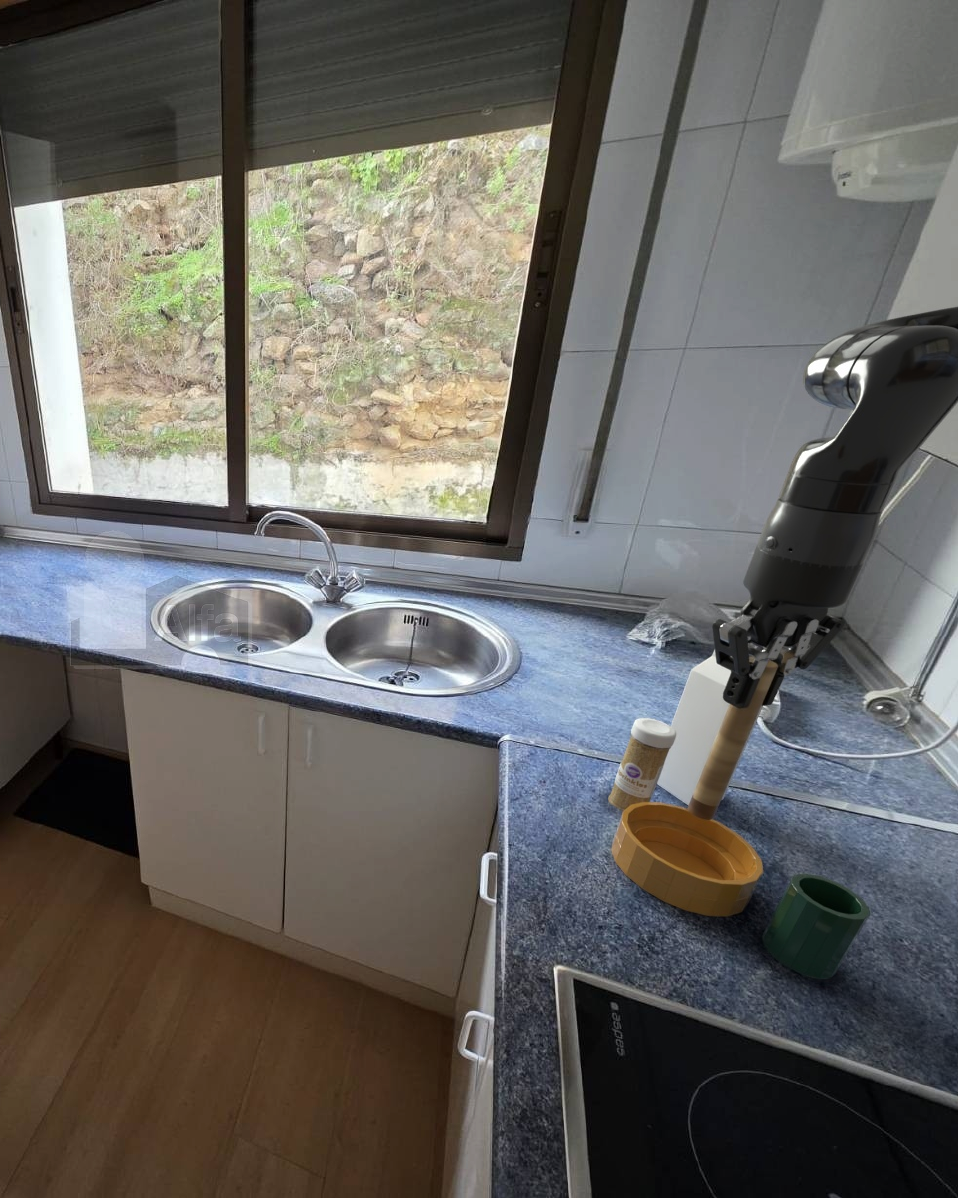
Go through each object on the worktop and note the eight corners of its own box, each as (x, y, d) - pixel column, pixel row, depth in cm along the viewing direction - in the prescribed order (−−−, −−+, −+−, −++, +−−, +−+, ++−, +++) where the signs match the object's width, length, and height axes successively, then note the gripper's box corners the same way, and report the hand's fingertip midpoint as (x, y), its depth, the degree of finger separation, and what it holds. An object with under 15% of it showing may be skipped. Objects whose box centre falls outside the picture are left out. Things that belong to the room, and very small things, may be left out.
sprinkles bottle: (603, 806, 88) (630, 725, 83) (612, 791, 91) (639, 712, 86) (642, 823, 85) (673, 740, 80) (650, 807, 88) (680, 726, 83)
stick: (708, 808, 74) (771, 658, 66) (717, 822, 72) (783, 669, 64) (684, 803, 75) (743, 655, 67) (691, 817, 73) (753, 665, 65)
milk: (682, 774, 94) (733, 643, 86) (724, 801, 89) (782, 663, 81) (649, 780, 93) (698, 647, 85) (689, 807, 88) (745, 669, 79)
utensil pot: (814, 943, 68) (849, 882, 65) (845, 990, 63) (884, 926, 60) (750, 928, 70) (780, 867, 66) (775, 972, 65) (809, 909, 62)
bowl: (718, 850, 81) (733, 816, 78) (768, 935, 69) (786, 898, 67) (598, 824, 85) (609, 792, 83) (627, 901, 74) (640, 865, 71)
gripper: (791, 567, 56) (725, 729, 63) (916, 558, 58) (839, 715, 65) (710, 542, 63) (658, 691, 70) (825, 534, 65) (764, 679, 72)
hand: (746, 702), depth 67 cm, fingers closed on stick, 2 cm apart
